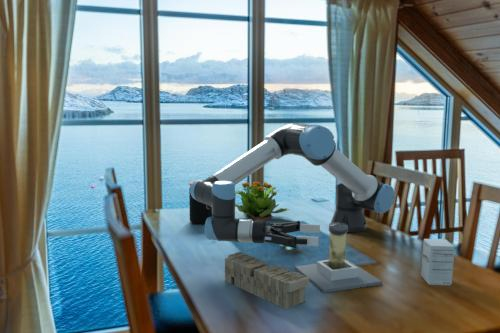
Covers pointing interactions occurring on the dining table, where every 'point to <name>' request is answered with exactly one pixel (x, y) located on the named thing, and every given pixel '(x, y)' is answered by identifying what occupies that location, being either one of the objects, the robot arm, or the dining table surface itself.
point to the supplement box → (437, 261)
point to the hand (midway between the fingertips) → (319, 235)
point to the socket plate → (337, 276)
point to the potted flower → (258, 201)
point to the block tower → (266, 280)
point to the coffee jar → (198, 210)
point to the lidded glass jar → (337, 245)
